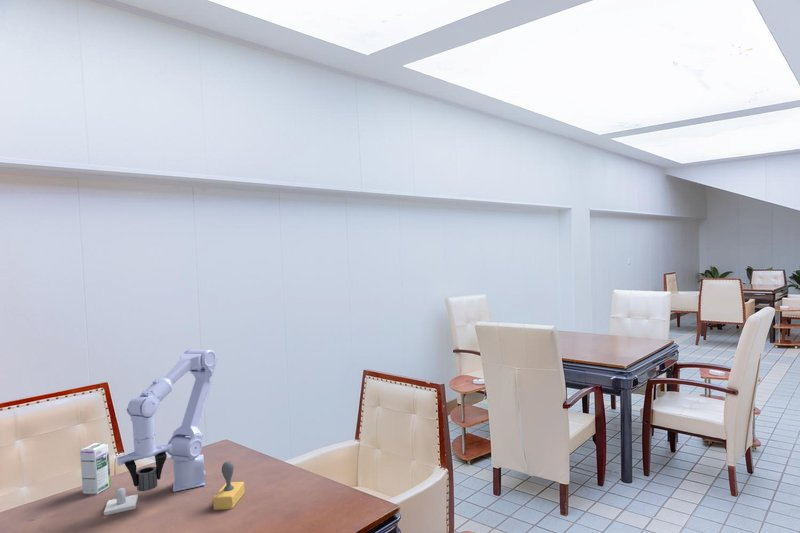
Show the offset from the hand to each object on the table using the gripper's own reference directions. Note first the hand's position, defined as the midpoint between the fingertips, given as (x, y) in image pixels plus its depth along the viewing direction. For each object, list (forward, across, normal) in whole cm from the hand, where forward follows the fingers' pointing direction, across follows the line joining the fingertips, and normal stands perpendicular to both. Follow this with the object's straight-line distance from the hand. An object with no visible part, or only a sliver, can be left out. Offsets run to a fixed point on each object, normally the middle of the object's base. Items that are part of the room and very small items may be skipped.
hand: (147, 481), depth 146 cm
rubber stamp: (+8, -19, +14) cm, 25 cm away
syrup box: (+8, +10, -25) cm, 28 cm away
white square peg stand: (+7, +6, -6) cm, 11 cm away
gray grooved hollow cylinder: (+2, 0, 0) cm, 2 cm away
